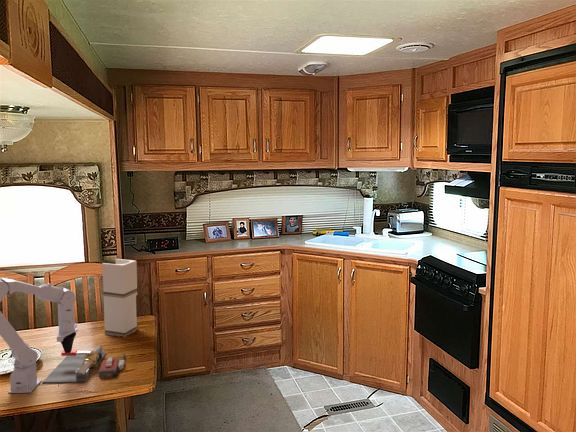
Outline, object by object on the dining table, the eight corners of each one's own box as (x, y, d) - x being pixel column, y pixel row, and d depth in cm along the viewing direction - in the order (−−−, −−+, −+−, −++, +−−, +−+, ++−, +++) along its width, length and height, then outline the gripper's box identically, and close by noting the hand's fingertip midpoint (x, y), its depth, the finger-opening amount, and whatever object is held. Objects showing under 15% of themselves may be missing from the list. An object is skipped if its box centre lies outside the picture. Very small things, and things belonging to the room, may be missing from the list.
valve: (86, 378, 184) (86, 366, 183) (74, 379, 184) (74, 366, 183) (104, 354, 206) (104, 343, 205) (94, 354, 205) (94, 343, 205)
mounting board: (84, 382, 182) (84, 381, 182) (42, 383, 181) (42, 381, 181) (105, 354, 208) (105, 352, 208) (69, 354, 207) (69, 353, 207)
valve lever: (94, 353, 195) (94, 349, 195) (92, 355, 193) (92, 352, 193) (63, 353, 195) (63, 349, 194) (61, 355, 192) (61, 352, 192)
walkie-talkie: (121, 378, 187) (126, 357, 206) (121, 367, 187) (126, 347, 206) (97, 380, 185) (105, 358, 204) (97, 369, 185) (104, 348, 204)
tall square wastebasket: (138, 329, 237) (136, 260, 232) (124, 337, 227) (122, 265, 222) (118, 326, 240) (116, 258, 235) (104, 334, 230) (102, 263, 225)
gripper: (69, 325, 180) (71, 359, 182) (83, 312, 194) (85, 344, 196) (50, 325, 180) (52, 359, 181) (65, 312, 194) (67, 344, 196)
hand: (68, 351), depth 189 cm, fingers closed
